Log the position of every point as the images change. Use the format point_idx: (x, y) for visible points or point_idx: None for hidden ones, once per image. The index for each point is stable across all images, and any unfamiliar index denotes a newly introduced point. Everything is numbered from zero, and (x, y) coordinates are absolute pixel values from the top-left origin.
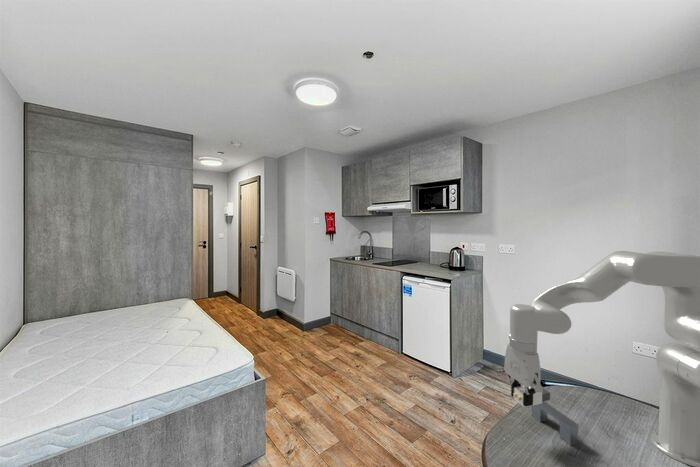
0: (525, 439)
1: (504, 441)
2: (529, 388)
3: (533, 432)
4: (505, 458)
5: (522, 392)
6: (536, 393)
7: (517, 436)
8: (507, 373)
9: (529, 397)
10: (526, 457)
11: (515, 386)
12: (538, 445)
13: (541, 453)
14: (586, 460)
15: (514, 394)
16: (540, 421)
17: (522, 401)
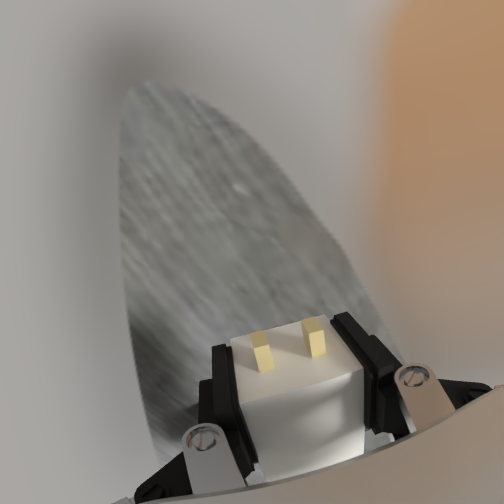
0: (231, 277)
1: (222, 180)
2: (322, 462)
3: (268, 328)
4: (133, 138)
5: (275, 407)
6: (265, 475)
7: (249, 253)
8: (489, 399)
9: (200, 423)
10: (137, 225)
11: (366, 387)
12: (199, 308)
13: (159, 295)
14: (146, 404)
15: (308, 333)
16: None
17: (246, 356)
